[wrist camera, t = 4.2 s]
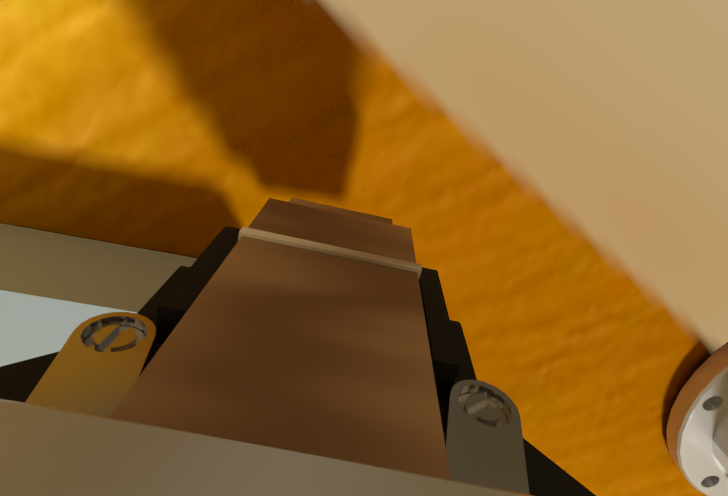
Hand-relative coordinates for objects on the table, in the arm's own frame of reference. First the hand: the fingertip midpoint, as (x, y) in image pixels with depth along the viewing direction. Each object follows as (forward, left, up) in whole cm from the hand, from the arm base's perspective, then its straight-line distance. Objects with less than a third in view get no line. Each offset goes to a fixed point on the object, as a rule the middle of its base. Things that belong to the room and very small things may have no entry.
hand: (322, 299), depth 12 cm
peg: (0, 0, -3) cm, 3 cm away
